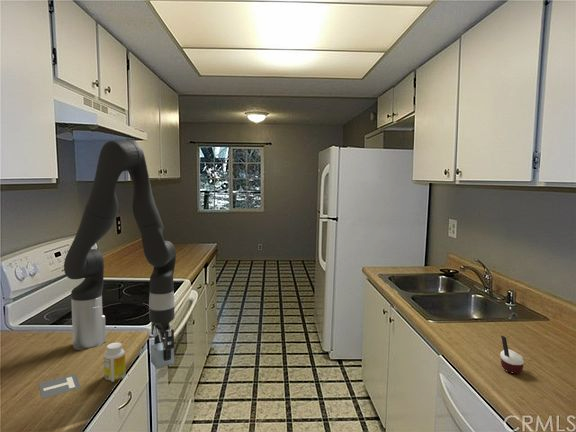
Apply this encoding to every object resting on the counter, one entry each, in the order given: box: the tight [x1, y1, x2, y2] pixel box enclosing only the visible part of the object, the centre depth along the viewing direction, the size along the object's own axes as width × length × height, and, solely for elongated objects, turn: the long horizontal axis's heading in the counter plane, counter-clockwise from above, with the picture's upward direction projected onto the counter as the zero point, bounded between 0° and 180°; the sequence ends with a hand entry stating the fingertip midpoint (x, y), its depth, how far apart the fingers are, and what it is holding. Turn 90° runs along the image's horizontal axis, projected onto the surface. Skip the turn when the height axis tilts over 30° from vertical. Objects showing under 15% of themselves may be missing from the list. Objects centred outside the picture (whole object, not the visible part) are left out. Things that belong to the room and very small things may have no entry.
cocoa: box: [500, 335, 525, 374], centre depth 119 cm, size 10×6×12 cm, turn 89°
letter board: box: [38, 373, 82, 400], centre depth 104 cm, size 9×9×1 cm
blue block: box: [150, 342, 175, 370], centre depth 120 cm, size 6×6×6 cm
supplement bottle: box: [103, 342, 127, 382], centre depth 109 cm, size 6×6×10 cm
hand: (162, 354), depth 120 cm, fingers open, 8 cm apart
